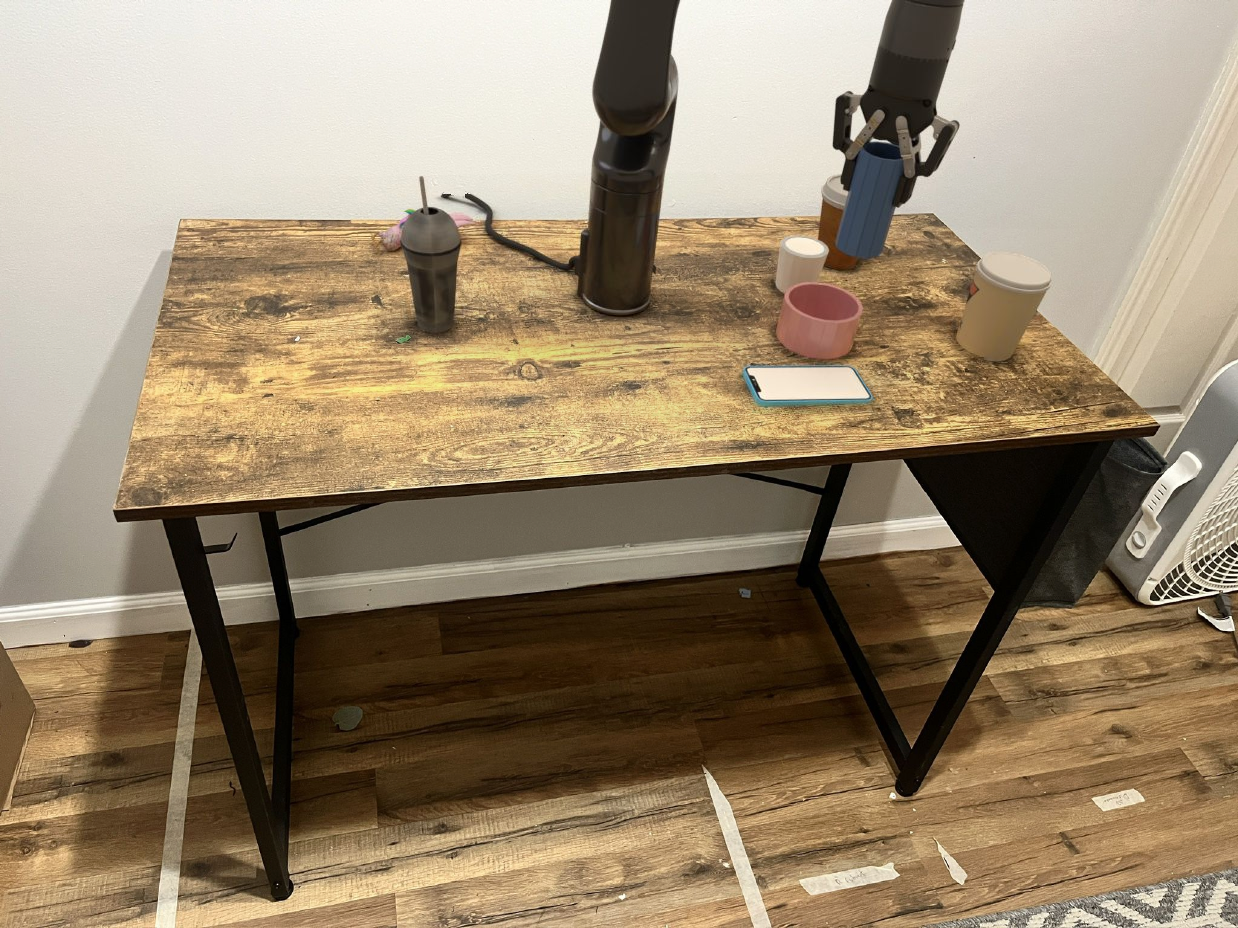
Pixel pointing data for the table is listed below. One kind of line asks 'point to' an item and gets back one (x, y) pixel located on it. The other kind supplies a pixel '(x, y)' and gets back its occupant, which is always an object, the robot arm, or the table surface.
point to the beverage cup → (432, 264)
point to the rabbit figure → (393, 234)
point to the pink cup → (818, 320)
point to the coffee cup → (1001, 304)
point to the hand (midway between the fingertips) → (873, 196)
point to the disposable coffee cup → (833, 223)
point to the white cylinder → (799, 261)
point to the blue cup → (870, 200)
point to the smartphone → (806, 385)
